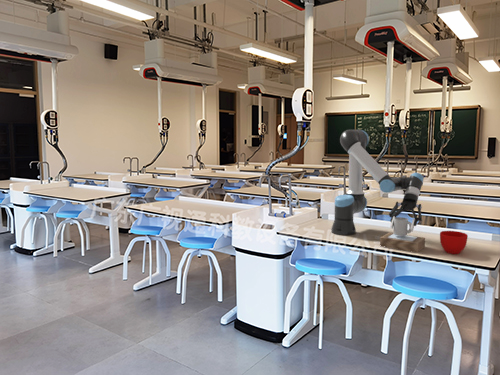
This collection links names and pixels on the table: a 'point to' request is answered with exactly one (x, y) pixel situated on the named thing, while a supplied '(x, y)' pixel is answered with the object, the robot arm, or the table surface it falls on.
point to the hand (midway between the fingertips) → (401, 228)
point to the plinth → (403, 242)
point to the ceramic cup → (453, 241)
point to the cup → (401, 226)
